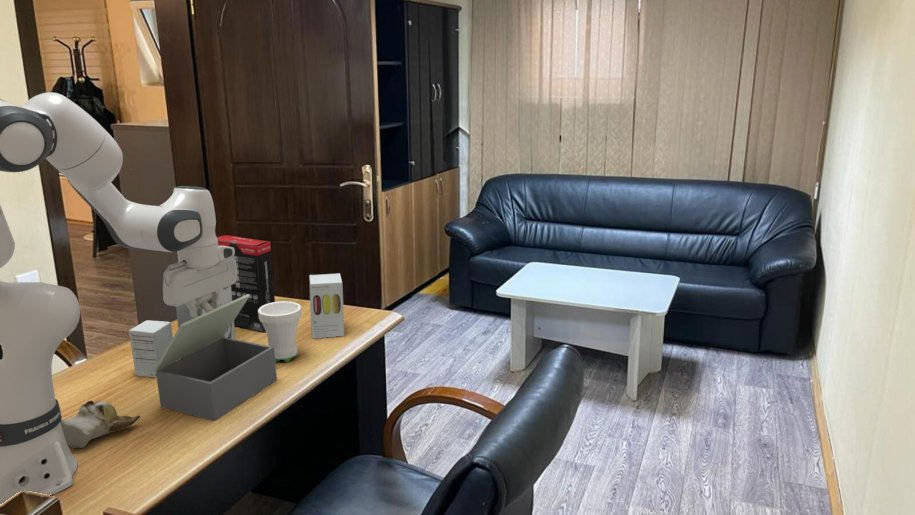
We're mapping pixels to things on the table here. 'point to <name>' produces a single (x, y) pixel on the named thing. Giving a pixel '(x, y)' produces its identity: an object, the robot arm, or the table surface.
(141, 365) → the supplement box
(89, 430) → the ceramic sculpture
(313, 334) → the supplement box
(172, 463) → the table surface
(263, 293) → the graphics card box
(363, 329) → the table surface
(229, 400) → the carton
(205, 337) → the lid flap
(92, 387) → the table surface
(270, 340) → the cup
